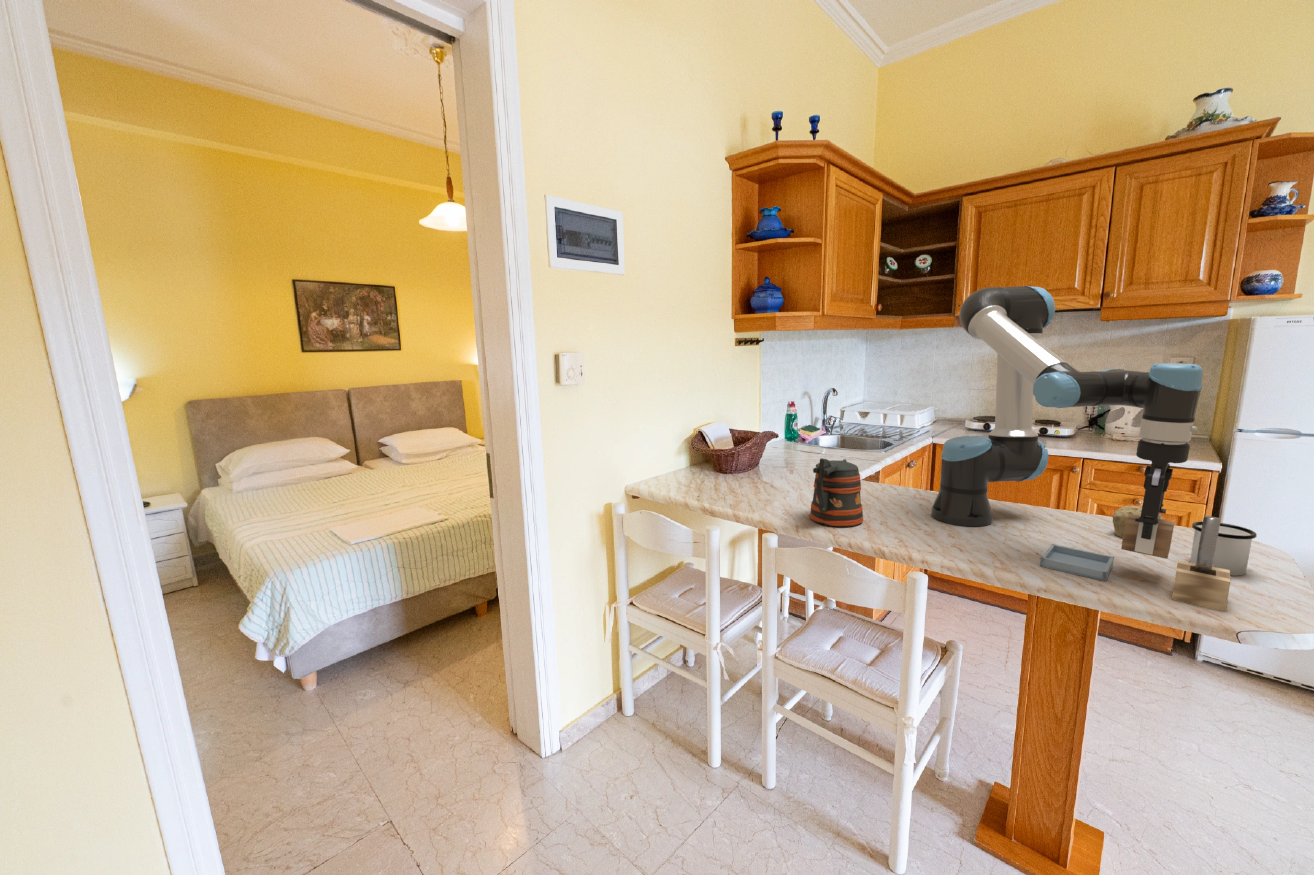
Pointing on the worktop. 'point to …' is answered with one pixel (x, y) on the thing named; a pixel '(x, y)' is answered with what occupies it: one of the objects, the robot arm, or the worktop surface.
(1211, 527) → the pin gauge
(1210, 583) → the oak block
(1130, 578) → the worktop surface
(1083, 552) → the tray
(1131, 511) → the coral
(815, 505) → the beer stein
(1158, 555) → the walnut block
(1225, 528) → the mug
